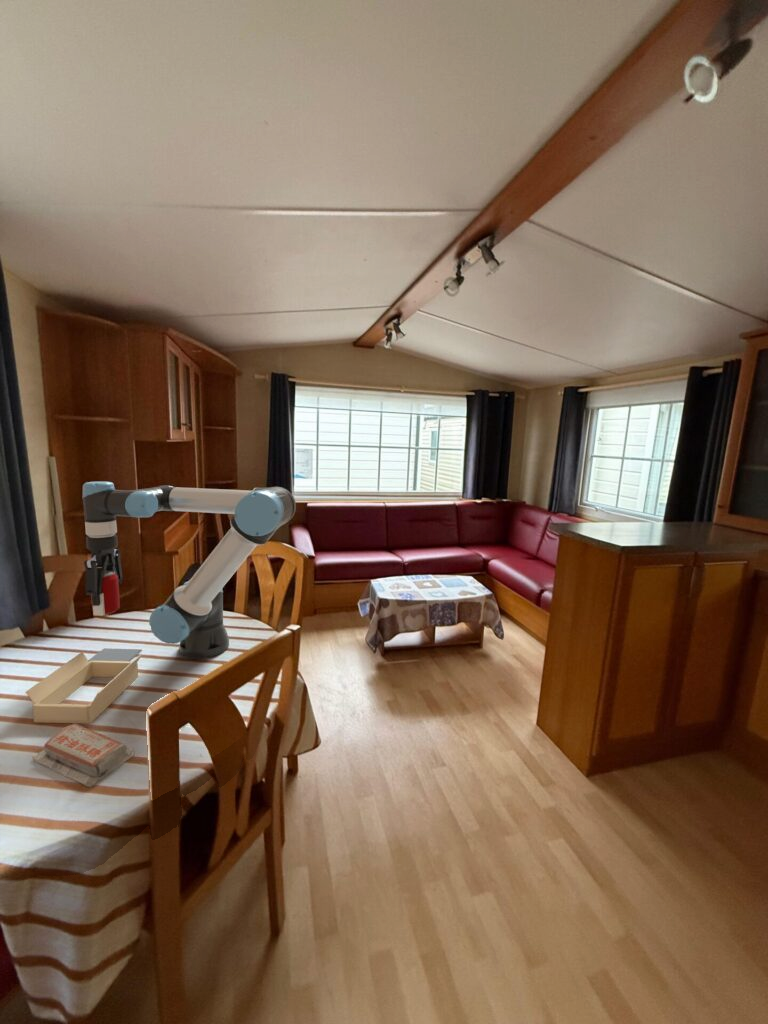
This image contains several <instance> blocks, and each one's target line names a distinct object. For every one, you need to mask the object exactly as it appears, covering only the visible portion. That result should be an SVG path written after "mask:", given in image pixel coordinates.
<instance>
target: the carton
mask: <svg viewBox="0 0 768 1024" xmlns="http://www.w3.org/2000/svg"><path fill="white" fill-rule="evenodd" d="M142 655H143V653H139V654H138V655H137V657H136V658H135V659H134V660H133V661H90V662H89V661H88V660H89V659H88V658H87V657H86V655H85V654H84V652H83V651H82V652H80V653H78V654H77V655H75V656H74V657H73V658H71V659H70V660H68V661H67V662H66V663H64V664H63V665H61V666H60V667H58V668H57V669H56V670H54V671H53V672H52V673H50V674H48V676H46V677H45V678H43V679H42V680H41V681H39V682H37V683H36V684H35V685H33V686H32V687H30V688H29V689H27V690H26V691H25V693H26V694H27V696H28V697H29V698H30V700H31V701H32V703H33V704H32V713H33V714H32V715H33V723H48V724H49V723H50V724H51V723H54V724H56V723H57V724H92V723H93V722H94V721H95V720H96V719H97V718H98V717H99V716H101V714H102V713H103V712H104V711H105V710H106V709H107V708H108V707H109V706H110V705H111V704H112V703H113V702H114V701H115V700H116V699H117V698H119V696H120V695H121V694H122V693H124V692H125V690H126V689H127V688H129V686H131V684H132V683H134V681H136V680H137V678H139V666H138V665H139V664H138V662H139V660H140V658H141V657H142ZM95 677H96V678H112V680H110V681H109V682H108V683H107V684H106V685H105V686H104V687H103V688H101V689H100V690H99V691H98V692H97V694H96V695H95V697H94V699H93V700H92V701H91V702H90V703H89V704H78V703H77V704H71V703H70V704H69V703H68V704H67V703H62V702H64V700H66V699H67V698H68V697H70V695H72V694H74V692H76V691H77V690H78V689H79V688H81V686H83V685H84V684H85V683H87V682H88V681H89V680H90V679H91V678H95Z"/></svg>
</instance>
